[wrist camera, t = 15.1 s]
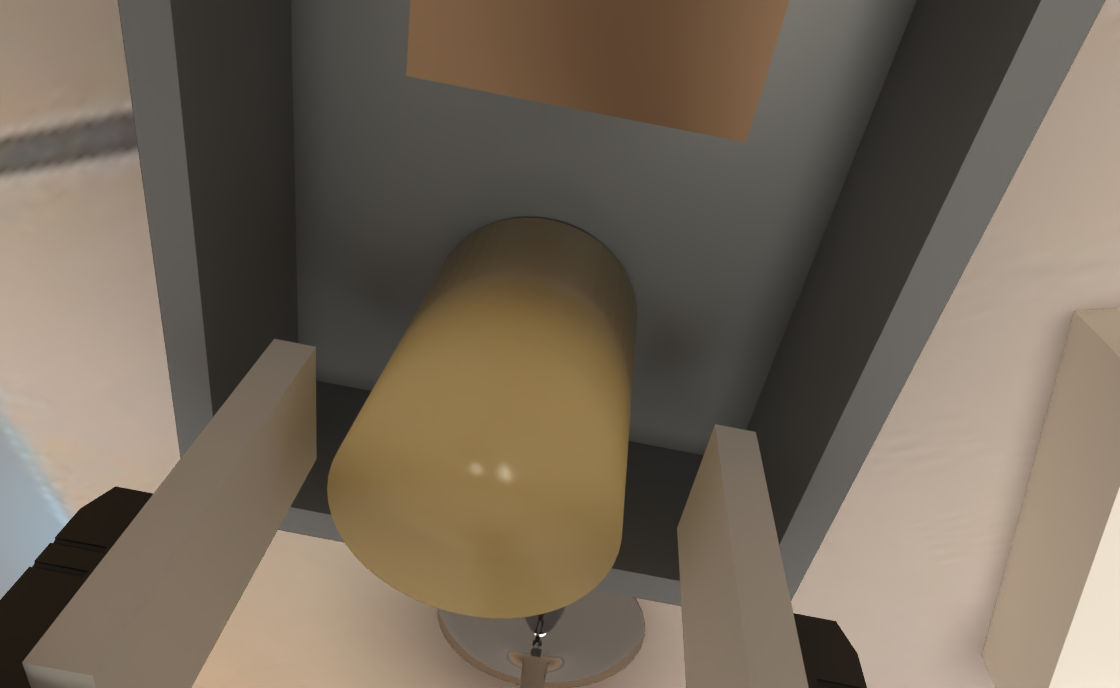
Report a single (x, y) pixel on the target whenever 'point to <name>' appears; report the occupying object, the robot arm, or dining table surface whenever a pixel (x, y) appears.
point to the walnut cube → (607, 55)
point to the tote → (591, 223)
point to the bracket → (1068, 530)
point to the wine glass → (552, 642)
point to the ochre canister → (498, 429)
